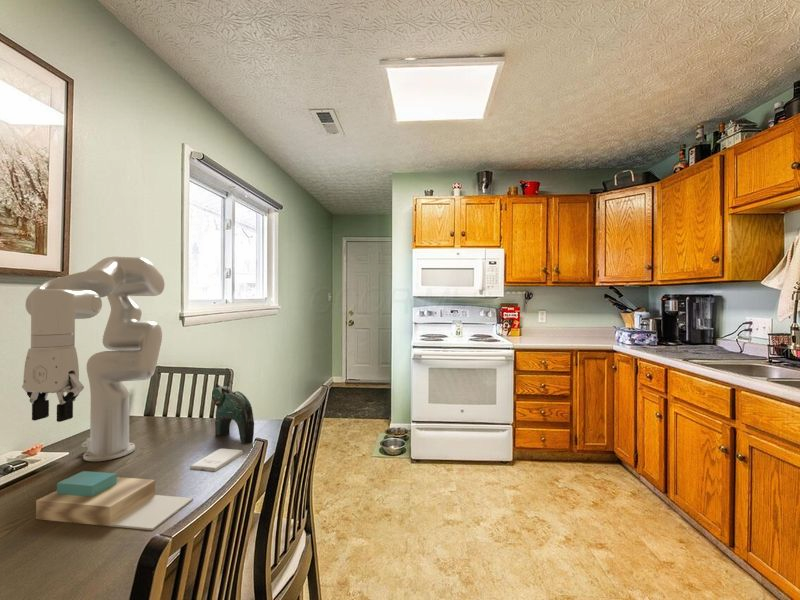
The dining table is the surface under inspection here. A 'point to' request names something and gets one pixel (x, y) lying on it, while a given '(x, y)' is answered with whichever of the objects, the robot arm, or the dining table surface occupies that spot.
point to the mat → (152, 512)
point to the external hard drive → (216, 459)
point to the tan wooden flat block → (96, 503)
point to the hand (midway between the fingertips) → (52, 418)
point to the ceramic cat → (233, 413)
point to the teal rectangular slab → (86, 483)
